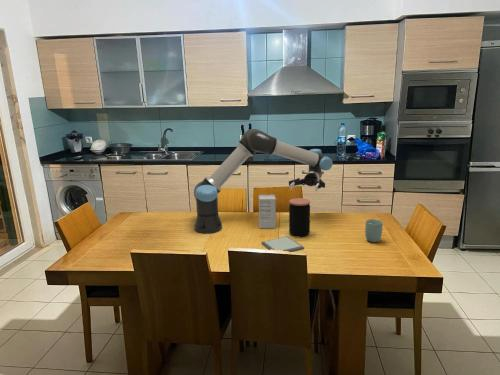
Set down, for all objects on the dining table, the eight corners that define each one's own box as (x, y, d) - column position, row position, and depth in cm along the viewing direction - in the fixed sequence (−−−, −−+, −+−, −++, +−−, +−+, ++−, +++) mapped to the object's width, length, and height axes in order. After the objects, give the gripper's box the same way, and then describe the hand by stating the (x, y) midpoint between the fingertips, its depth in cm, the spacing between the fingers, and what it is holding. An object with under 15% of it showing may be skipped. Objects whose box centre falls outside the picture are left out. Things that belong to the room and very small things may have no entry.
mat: (261, 243, 182) (261, 241, 182) (287, 238, 188) (287, 235, 188) (276, 255, 169) (276, 252, 168) (303, 249, 175) (303, 246, 174)
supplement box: (276, 228, 202) (275, 198, 198) (259, 228, 202) (258, 199, 198) (275, 222, 211) (275, 194, 207) (259, 222, 211) (258, 194, 207)
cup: (373, 245, 177) (374, 225, 175) (361, 239, 184) (362, 220, 182) (384, 241, 181) (386, 222, 178) (372, 236, 188) (374, 218, 185)
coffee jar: (311, 231, 196) (312, 199, 192) (306, 238, 187) (306, 204, 182) (292, 228, 200) (293, 197, 196) (286, 235, 191) (286, 202, 187)
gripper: (333, 186, 212) (326, 196, 193) (290, 183, 221) (280, 193, 202) (333, 173, 210) (327, 182, 191) (290, 171, 219) (280, 179, 200)
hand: (303, 187), depth 196 cm, fingers open, 13 cm apart
